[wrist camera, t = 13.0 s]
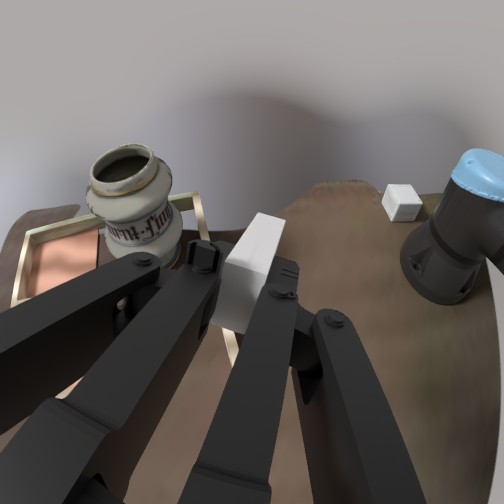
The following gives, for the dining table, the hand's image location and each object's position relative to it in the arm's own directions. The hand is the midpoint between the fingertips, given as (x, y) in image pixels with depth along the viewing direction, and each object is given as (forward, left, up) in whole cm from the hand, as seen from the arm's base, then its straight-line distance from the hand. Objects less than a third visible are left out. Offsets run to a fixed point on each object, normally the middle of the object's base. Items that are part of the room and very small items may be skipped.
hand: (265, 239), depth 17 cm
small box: (-10, -40, -26) cm, 48 cm away
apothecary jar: (+23, -8, -26) cm, 36 cm away
